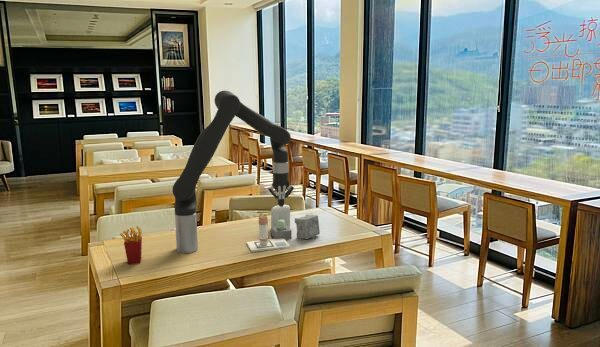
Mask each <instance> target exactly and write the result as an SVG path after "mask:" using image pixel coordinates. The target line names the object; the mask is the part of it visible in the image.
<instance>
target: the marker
mask: <svg viewBox="0 0 600 347" xmlns="http://www.w3.org/2000/svg"><path fill="white" fill-rule="evenodd" d="M268 224H269V222H268V216H267V215H260V216H258V228H259V230H258V232H259V233H258V234H259V241H260V245H262V246H265V245H268V240H269V233H268V232H269V228H268Z"/></svg>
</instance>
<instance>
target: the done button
mask: <svg viewBox="0 0 600 347" xmlns="http://www.w3.org/2000/svg"><path fill="white" fill-rule="evenodd" d="M278 230H285V220H278Z"/></svg>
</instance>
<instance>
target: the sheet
mask: <svg viewBox="0 0 600 347" xmlns="http://www.w3.org/2000/svg"><path fill="white" fill-rule="evenodd" d="M246 245H247V247H248V249H249V250H250V252H251V253H255V252H257V253H258V252H264V251H274V250H280V249H290V248H291V245H290V244H289V243H288V242H287V239H284V238H279V239H274V238H270V239H268V245H265V246H262V245H260V240H253V241H246Z"/></svg>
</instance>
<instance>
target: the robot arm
mask: <svg viewBox="0 0 600 347" xmlns="http://www.w3.org/2000/svg"><path fill="white" fill-rule="evenodd" d="M214 104H215V107H216V108H217V110H216V111H217V112H216V113H215V115H214V116H213V117H214V118H213V119H212V120H211V122H210V123H209V124H208V125H207V126H206V127H205V128H204V129H203V130H202V132H200V134H199V135H198V137H197V139H196V140H195V143H194V144H193V146H192V150H191V151H190V154H189V157H188V159H187V162H186V164H185V167H184V169H183V171H182V172H181V173H180V175H179V177H178V178H177V179H175V182H174V183H173V186H172V194H173V196H174V221H175V222H174V223H175V242H176V243H175V244H176V245H175V246H176V252H177V253H178V254H179V253H180V254H181V253H182V254H190V253H194V252H197V251H198V250H199V246H198V245H199V242H198V224H197V223H198V221H197V220H198V219H197V189H196V188H197V187H196V186H197V184H198V182H199V179H200V178H201V175H202V173H204V171H205V169H206V168H207V167H208V165H209V163H210V162H211V160H212V158H213V156H215V154H216V153H215V152H217V149H218V147H219V146H220V143H221V141H222V139H223V137H224V135H225V133H226V131H227V129H228V128H229V126H230V124H231V123H232V121H233V120H234V118H235V117H236V118H238V119H239V120H242V122H244V123H245V124H247V125H248V126H250V127H251V128H252V129H253V130H255V131H257V132H258V133H260V134H262V135H263V136H266V137H269V141H270V146H271V150H272V161H273V162H272V183H271V186H270V187H267V190H268V192H269V193H270V194H271V195H272V196H273V197H274V198H275V199H277V205H279V206H280V207H283V205H285V199H286V198H289V196H290V195H291V193H292V192H293V191H294V190H295V188H294V186H292V185H291V182H290V177H289V176H290V173H289V171H290V169H289V168H290V167H289V166H290V165H289V153H288V152H289V151H288V149H286V148H285V145H288V144H289V143H290V142H291V138H292V137H291V134H290V132H289V131H288V130H287V129H286V128H284V127H281V125H278V124H276V123H274V122H273V121H271V120H270V119H268V118H266V116H264V115H262V114H260V113H258V112H257V111H255V110H253V109H251V108H250V107H248V106H246V105H245V104H244V103H243V102H241V100H240V98H239V96H237V95H236V94H235V93H233V92H231V91H229V90H219V91H218V92H217V93H216V94H215V96H214ZM274 190H275V191H276V193H275V192H274Z"/></svg>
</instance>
